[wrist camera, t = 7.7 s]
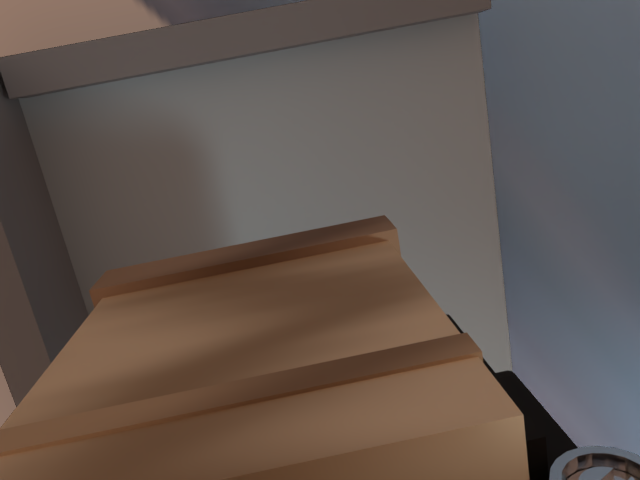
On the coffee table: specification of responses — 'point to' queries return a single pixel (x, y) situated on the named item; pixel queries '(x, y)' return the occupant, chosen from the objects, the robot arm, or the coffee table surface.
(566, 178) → the coffee table surface
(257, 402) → the pedestal
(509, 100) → the coffee table surface
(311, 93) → the dock
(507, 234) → the coffee table surface
